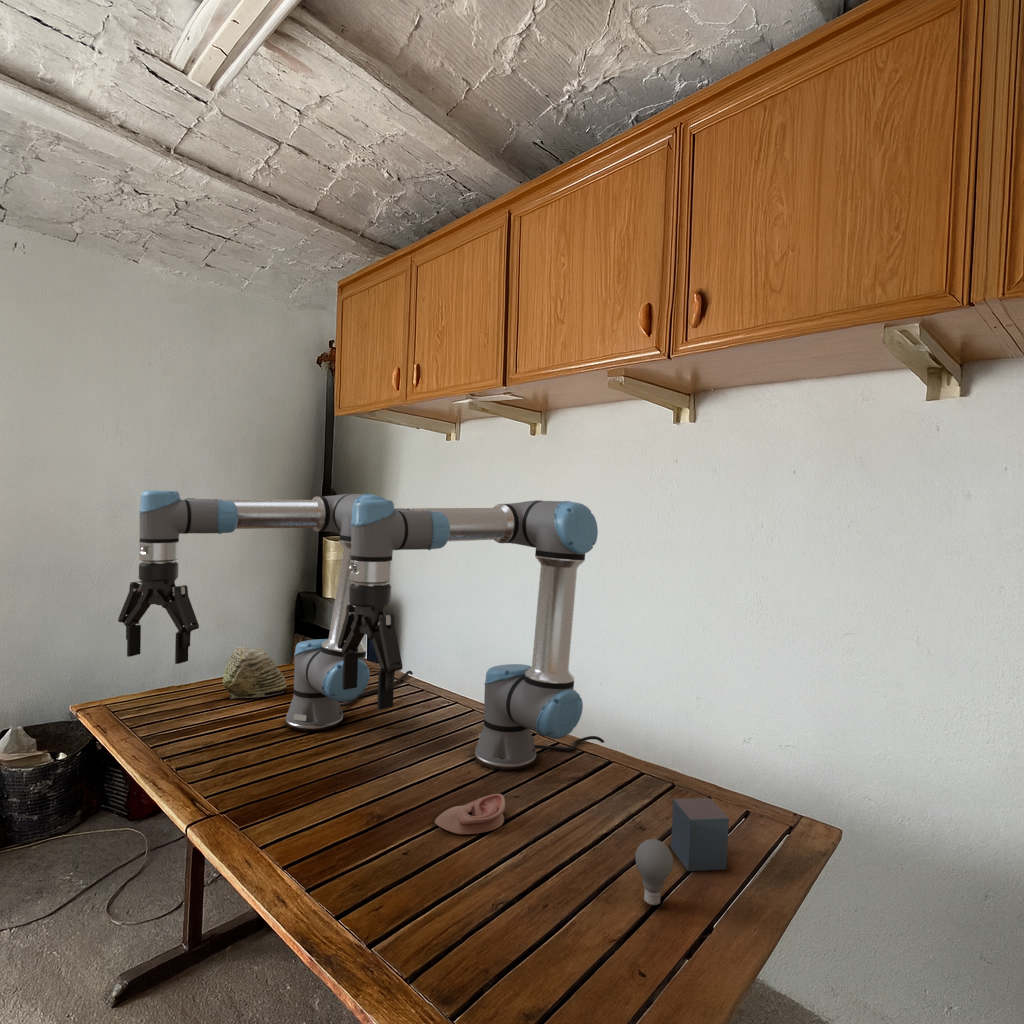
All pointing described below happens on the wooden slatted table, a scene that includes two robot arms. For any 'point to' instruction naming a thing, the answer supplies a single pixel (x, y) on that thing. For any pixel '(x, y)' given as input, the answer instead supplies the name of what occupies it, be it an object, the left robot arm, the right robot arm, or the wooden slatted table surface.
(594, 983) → the wooden slatted table surface
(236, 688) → the fossil
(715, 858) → the brick
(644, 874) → the light bulb
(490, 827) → the anatomical model
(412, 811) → the wooden slatted table surface
